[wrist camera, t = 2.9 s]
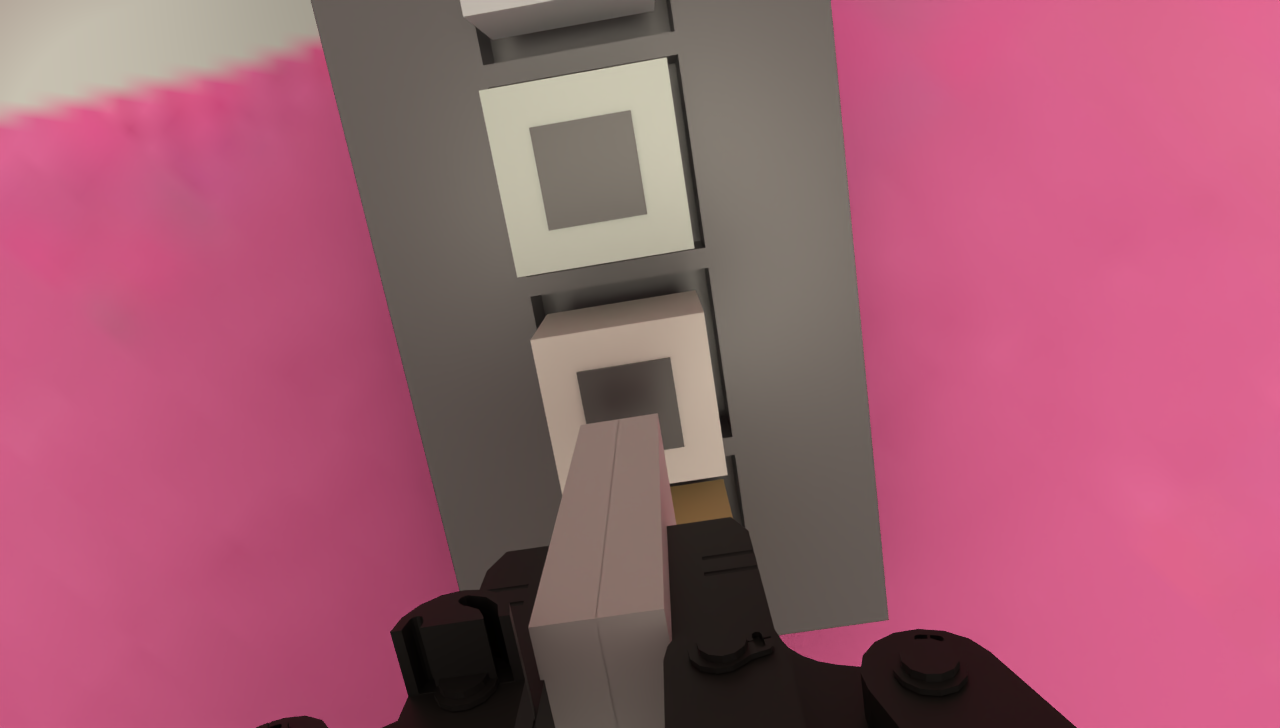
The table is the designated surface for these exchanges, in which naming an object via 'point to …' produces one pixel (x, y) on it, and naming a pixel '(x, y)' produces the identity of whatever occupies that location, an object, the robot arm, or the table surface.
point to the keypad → (628, 273)
